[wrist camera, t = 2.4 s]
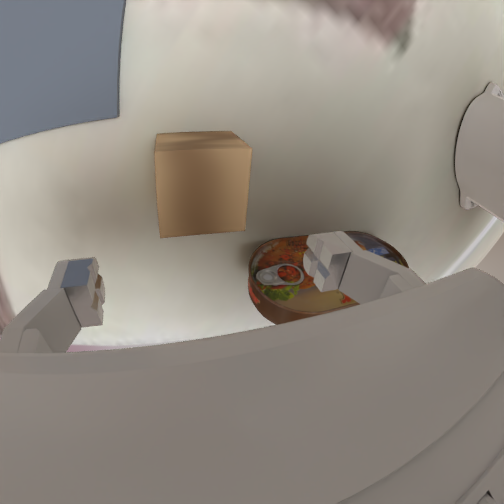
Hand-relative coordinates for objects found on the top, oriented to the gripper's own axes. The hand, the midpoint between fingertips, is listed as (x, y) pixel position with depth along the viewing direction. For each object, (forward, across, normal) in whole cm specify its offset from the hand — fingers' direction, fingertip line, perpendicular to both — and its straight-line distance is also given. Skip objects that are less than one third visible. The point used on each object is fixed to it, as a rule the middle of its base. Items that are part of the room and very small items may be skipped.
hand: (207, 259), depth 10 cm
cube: (+11, -1, 0) cm, 11 cm away
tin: (+11, -12, +8) cm, 18 cm away
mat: (+11, +10, -10) cm, 18 cm away
